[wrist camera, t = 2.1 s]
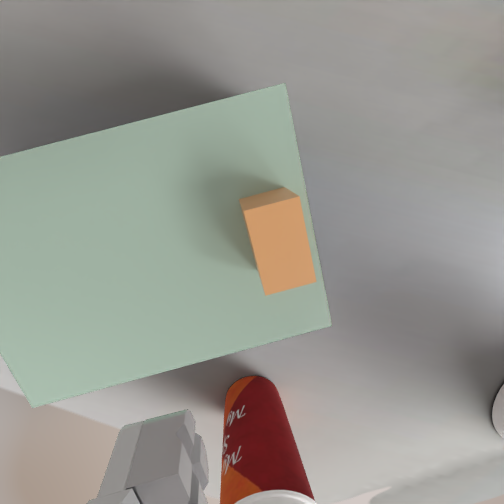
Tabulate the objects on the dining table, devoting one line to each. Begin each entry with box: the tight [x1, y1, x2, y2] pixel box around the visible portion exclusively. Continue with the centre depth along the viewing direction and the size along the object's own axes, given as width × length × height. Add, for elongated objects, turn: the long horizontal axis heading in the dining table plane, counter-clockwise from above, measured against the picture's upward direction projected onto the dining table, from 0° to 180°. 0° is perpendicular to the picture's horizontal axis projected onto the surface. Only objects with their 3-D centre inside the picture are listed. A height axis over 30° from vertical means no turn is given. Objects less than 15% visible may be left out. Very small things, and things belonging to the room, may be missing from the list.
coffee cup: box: [220, 376, 317, 504], centre depth 30 cm, size 8×8×15 cm
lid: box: [0, 83, 332, 408], centre depth 20 cm, size 23×17×5 cm
